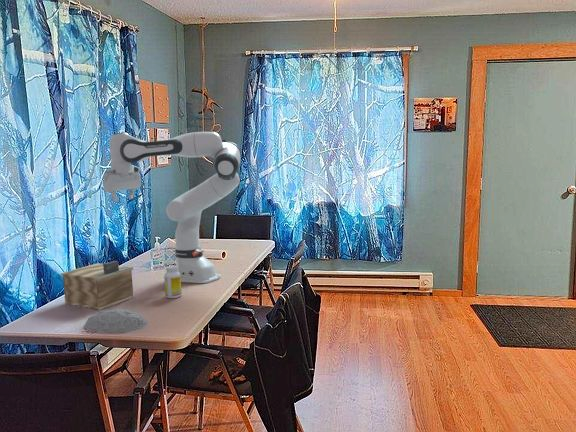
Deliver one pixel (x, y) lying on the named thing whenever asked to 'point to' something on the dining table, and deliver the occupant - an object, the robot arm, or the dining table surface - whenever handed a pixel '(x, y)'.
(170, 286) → the supplement bottle
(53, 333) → the dining table surface
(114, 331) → the grey oval stone
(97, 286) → the wooden box
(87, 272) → the lid
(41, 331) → the dining table surface
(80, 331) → the dining table surface
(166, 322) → the dining table surface
